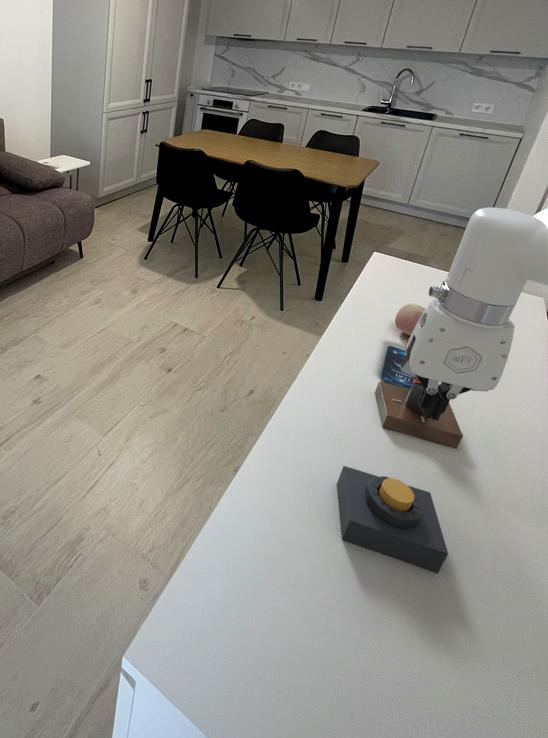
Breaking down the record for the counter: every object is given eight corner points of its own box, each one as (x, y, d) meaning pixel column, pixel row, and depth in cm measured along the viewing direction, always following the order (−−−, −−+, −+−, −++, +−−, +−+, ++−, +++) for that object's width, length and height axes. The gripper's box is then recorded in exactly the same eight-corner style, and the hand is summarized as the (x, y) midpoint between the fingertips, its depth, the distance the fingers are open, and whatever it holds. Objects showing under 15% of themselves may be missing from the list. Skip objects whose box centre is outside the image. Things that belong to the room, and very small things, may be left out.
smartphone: (426, 357, 111) (422, 393, 99) (425, 359, 111) (421, 396, 100) (388, 344, 115) (379, 377, 103) (387, 346, 115) (379, 379, 103)
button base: (421, 511, 75) (434, 483, 73) (437, 574, 67) (453, 544, 64) (336, 484, 79) (346, 456, 77) (341, 540, 70) (353, 511, 68)
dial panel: (442, 410, 96) (447, 398, 95) (457, 448, 88) (463, 435, 86) (374, 392, 100) (379, 380, 99) (382, 427, 91) (387, 414, 90)
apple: (426, 349, 115) (438, 320, 112) (390, 337, 119) (400, 308, 115) (426, 333, 121) (437, 305, 118) (391, 322, 125) (401, 294, 122)
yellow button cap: (407, 492, 72) (411, 483, 71) (413, 515, 68) (417, 507, 68) (377, 482, 73) (380, 474, 72) (381, 505, 69) (384, 496, 69)
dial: (428, 402, 94) (438, 380, 92) (434, 418, 90) (444, 395, 88) (403, 395, 95) (411, 373, 93) (407, 410, 91) (416, 388, 89)
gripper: (417, 304, 63) (375, 415, 70) (558, 332, 59) (498, 447, 66) (403, 278, 69) (367, 382, 76) (530, 301, 65) (478, 409, 72)
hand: (428, 412), depth 71 cm, fingers closed
